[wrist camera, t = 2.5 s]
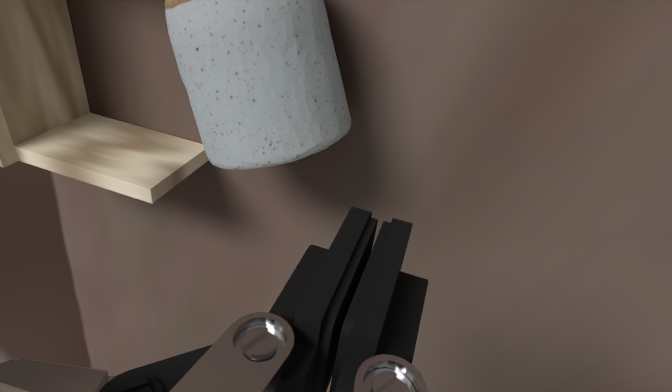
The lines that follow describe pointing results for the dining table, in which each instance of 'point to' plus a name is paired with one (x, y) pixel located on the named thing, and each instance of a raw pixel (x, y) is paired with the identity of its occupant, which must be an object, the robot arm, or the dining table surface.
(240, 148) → the ceramic mug
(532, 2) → the dining table surface
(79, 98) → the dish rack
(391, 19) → the dining table surface
